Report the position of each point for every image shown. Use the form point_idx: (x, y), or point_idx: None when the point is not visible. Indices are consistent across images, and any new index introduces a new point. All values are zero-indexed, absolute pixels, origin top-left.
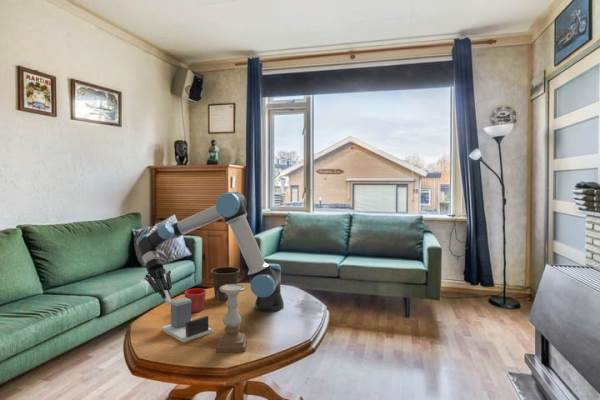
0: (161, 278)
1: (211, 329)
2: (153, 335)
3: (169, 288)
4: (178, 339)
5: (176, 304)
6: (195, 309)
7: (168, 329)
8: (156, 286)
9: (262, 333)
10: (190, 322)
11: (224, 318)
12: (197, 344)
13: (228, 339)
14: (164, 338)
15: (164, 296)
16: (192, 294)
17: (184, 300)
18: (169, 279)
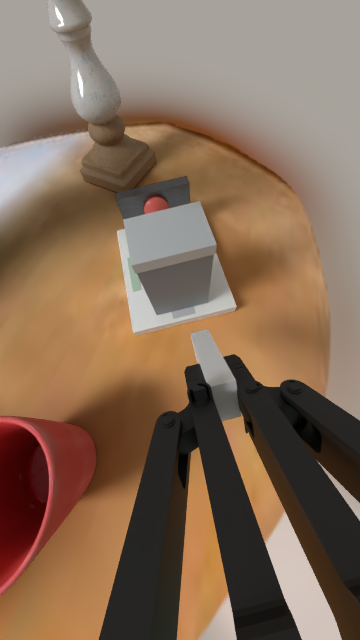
0: (288, 620)
1: (119, 230)
2: (262, 287)
3: (181, 415)
4: None
5: (199, 205)
6: (72, 425)
7: (221, 278)
8: (326, 412)
9: (39, 191)
10: (177, 179)
11: (114, 83)
12: None
13: (128, 136)
14: (236, 256)
15: (230, 358)
16: (34, 432)
17: (153, 223)
18: (147, 539)
